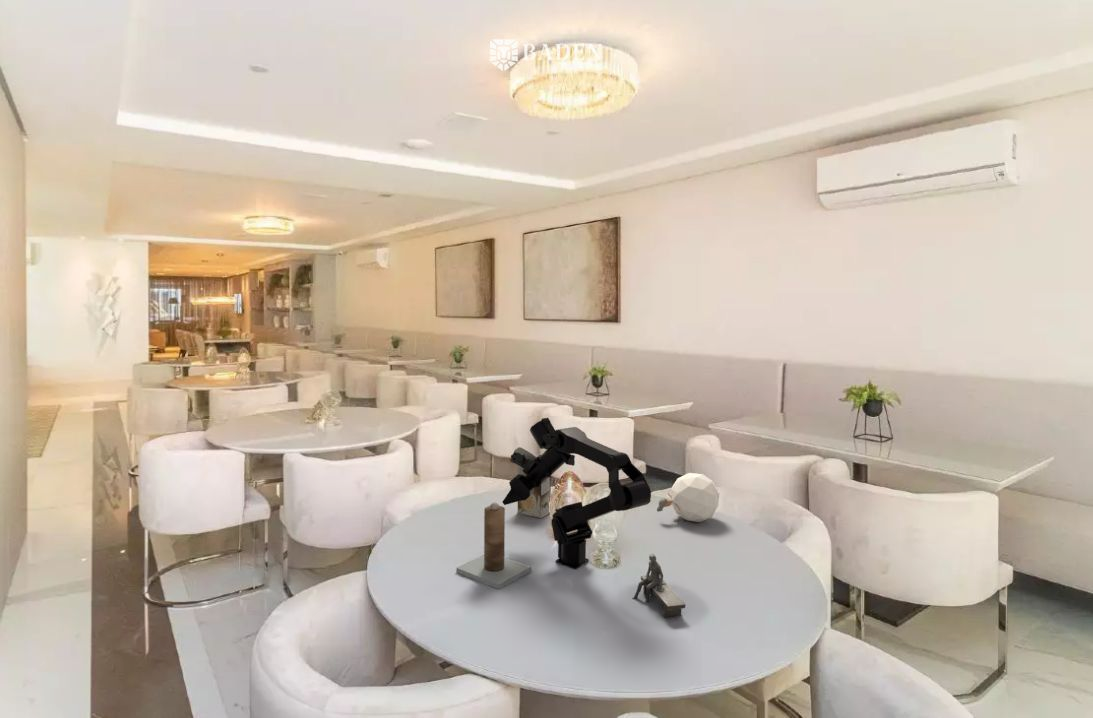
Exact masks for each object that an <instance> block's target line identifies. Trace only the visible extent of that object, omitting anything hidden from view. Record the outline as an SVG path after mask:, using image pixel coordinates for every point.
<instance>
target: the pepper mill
mask: <svg viewBox="0 0 1093 718" xmlns="http://www.w3.org/2000/svg"><path fill="white" fill-rule="evenodd" d="M483 510H484V516H483V518H484V521H483V522H484V523H483V525H484V526H483V527H484V528H483V529H484V530H483V531H484V533H483V536H484V537H483V541H484V542H483V544H484V545H483V546H484V547H483V555H484V569H485V570H487V571H490V572H497V571H501V570H503V569H504V558H505V534H506V533H505V532H506V531H505V528H506V527H505V525H506V524H505V523H506V521H505V520H506V519H505V518H506V516H505V514H506V509H505V507H504V506H502V505H500V504H499V503H498V502H492V503H491V504H490V505H488V506H486V507H484V509H483Z"/></svg>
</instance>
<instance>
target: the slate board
mask: <svg viewBox="0 0 1093 718" xmlns="http://www.w3.org/2000/svg"><path fill="white" fill-rule="evenodd" d="M455 568H456V573H457V574H460V575H463V576H465V577H467V578H469V579H471V580H475V581H477V582H480V583H482V584H485V585H488V586H490V587H493V589H497V590H501V589H502V588H504V587H507V585H509V584H511V583H513V582H515V581H516V580H518V579H520V578H522V577H523V576H525V575H527V574H529V573H531V571H532V570H531V568H532V567H531V566H530V565H526V564H523V563H520V562H518V561H516V560H513V559H509V558H507V557H504V569H503V570H501V571H497V572H490V571H487V570H485V569H484V554H482V555H480V556H478V557H476V558H474V559H472V560H470V561H467V562H465V563H463V564H461V565H459V566H456V567H455Z"/></svg>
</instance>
